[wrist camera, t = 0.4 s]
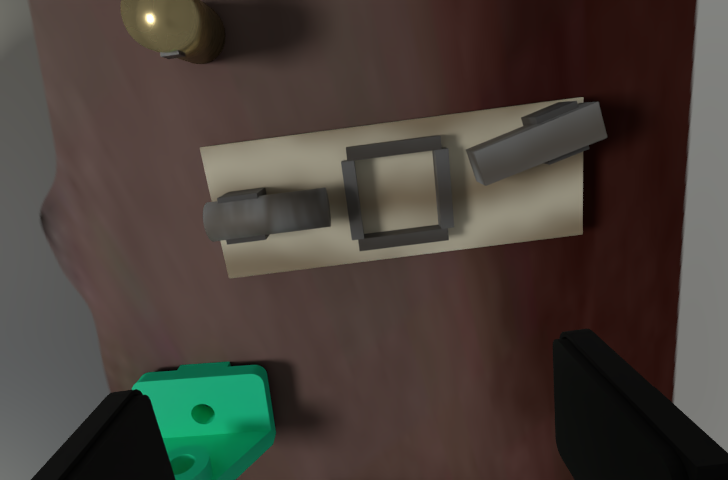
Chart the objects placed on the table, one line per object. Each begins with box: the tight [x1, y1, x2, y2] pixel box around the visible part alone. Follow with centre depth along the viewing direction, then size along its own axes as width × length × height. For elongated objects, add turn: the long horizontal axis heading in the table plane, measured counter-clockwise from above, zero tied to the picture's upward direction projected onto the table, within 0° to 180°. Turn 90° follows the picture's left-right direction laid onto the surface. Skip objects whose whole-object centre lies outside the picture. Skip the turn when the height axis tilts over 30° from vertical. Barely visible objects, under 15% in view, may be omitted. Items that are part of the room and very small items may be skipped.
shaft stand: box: [200, 97, 607, 278], centre depth 35 cm, size 11×30×6 cm, turn 97°
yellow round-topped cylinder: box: [121, 0, 225, 64], centre depth 31 cm, size 5×4×7 cm
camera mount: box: [132, 362, 276, 480], centre depth 38 cm, size 12×8×10 cm, turn 94°
